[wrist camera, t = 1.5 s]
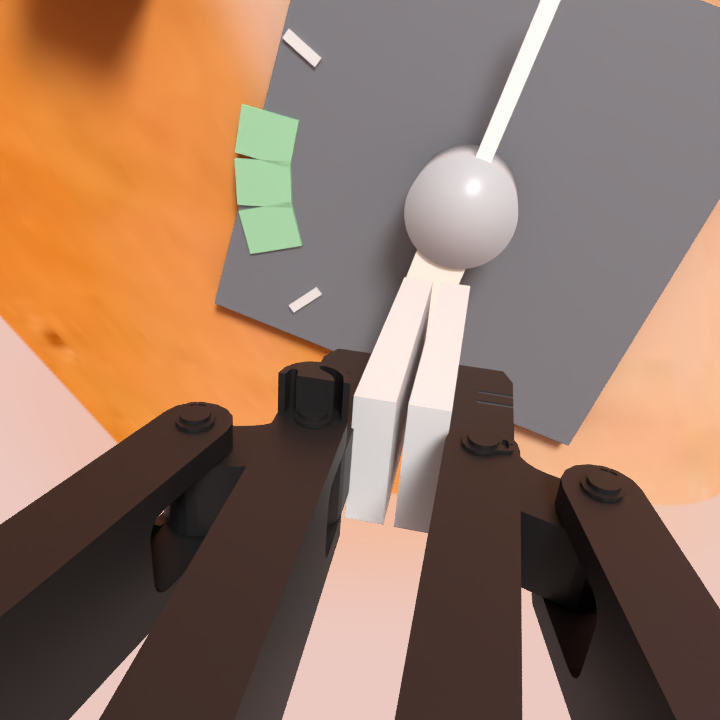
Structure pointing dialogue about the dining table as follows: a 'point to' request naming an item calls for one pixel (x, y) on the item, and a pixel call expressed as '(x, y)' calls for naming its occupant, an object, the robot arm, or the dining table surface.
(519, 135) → the dial board
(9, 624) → the robot arm
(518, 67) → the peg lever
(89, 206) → the dining table surface
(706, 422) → the dining table surface
